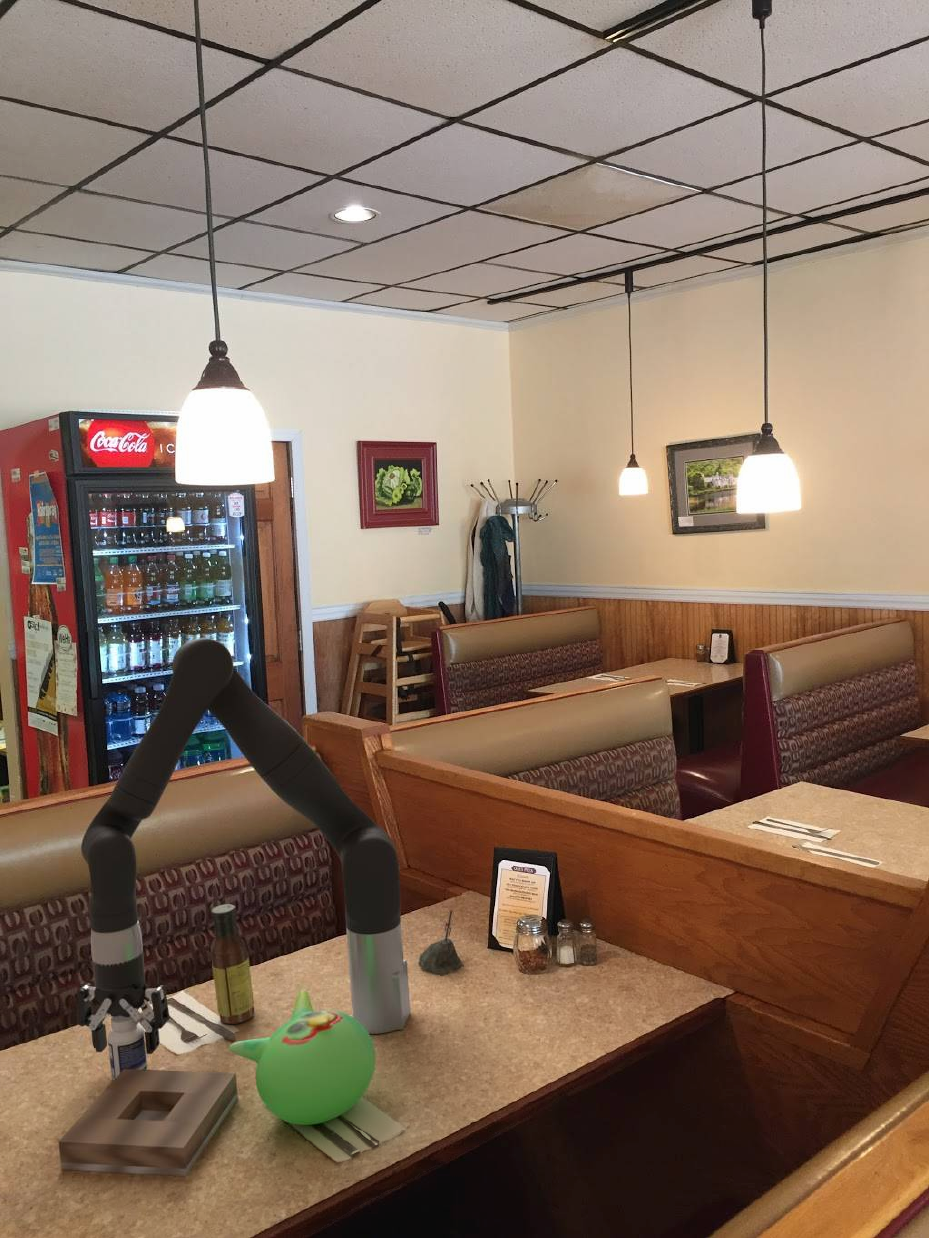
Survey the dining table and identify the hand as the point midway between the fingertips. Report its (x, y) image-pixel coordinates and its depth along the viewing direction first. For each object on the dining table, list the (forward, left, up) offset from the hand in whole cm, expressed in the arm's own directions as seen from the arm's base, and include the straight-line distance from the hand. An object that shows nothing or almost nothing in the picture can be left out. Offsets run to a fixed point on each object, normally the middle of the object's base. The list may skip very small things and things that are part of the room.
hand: (126, 1050), depth 161 cm
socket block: (-11, +14, -4) cm, 18 cm away
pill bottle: (0, 0, -4) cm, 4 cm away
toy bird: (-33, +7, -4) cm, 34 cm away
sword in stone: (-42, -41, -5) cm, 59 cm away
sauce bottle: (-10, -19, -4) cm, 22 cm away
